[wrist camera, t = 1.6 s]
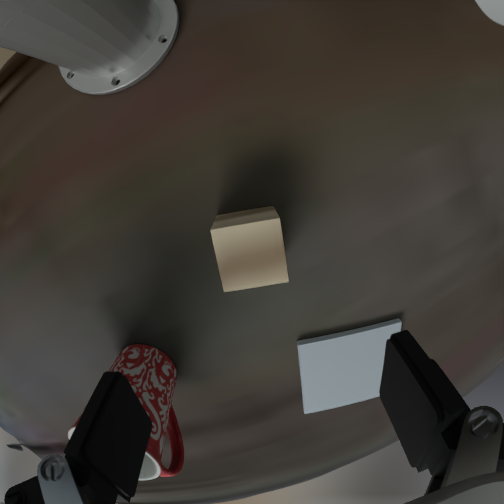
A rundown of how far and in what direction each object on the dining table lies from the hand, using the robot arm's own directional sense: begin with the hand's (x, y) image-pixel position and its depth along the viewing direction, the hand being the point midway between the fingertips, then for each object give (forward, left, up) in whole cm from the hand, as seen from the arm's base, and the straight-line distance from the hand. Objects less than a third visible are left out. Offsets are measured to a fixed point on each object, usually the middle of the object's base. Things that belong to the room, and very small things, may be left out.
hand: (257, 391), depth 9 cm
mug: (+15, -14, -18) cm, 27 cm away
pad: (+18, +9, -18) cm, 27 cm away
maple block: (0, 0, -18) cm, 18 cm away
